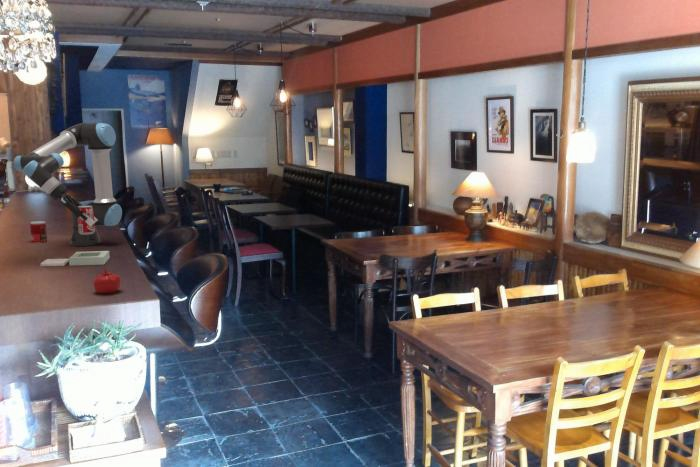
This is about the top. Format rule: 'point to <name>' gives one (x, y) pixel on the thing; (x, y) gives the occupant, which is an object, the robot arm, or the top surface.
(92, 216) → the soda can
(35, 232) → the canned food
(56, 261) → the tile
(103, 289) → the pomegranate
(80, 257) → the holder
